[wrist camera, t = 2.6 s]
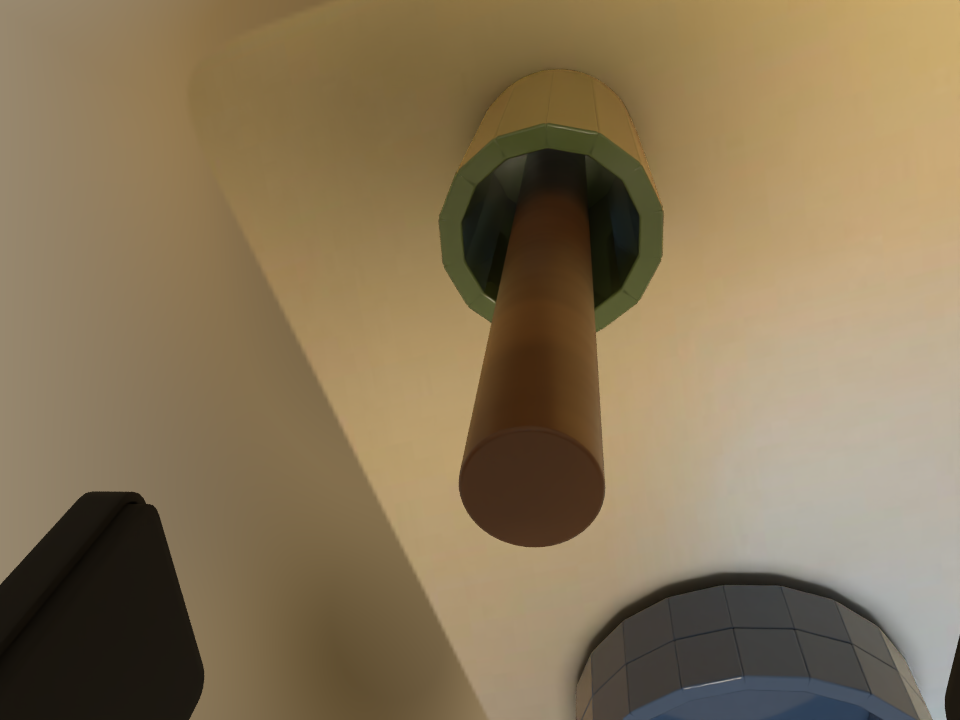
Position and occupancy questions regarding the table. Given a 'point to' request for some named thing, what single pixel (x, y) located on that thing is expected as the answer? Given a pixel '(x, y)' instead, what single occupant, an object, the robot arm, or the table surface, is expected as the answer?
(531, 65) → the table surface
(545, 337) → the cooking stick
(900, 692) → the mixing bowl
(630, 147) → the utensil crock
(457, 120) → the table surface
